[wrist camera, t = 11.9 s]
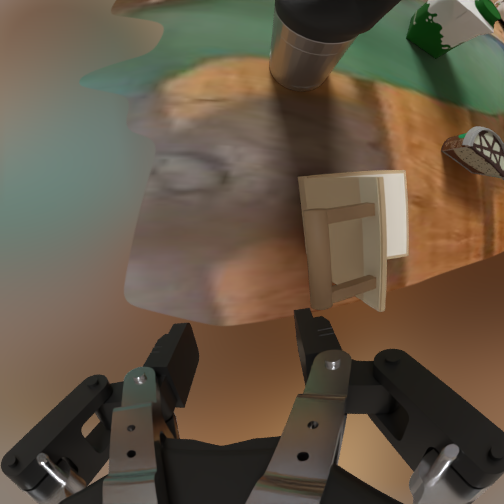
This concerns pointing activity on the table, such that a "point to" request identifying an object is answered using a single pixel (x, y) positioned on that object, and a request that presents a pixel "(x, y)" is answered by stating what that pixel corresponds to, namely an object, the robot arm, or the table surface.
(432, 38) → the milk carton
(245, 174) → the table surface
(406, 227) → the carton
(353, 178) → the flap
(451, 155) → the food container
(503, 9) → the spread jar
